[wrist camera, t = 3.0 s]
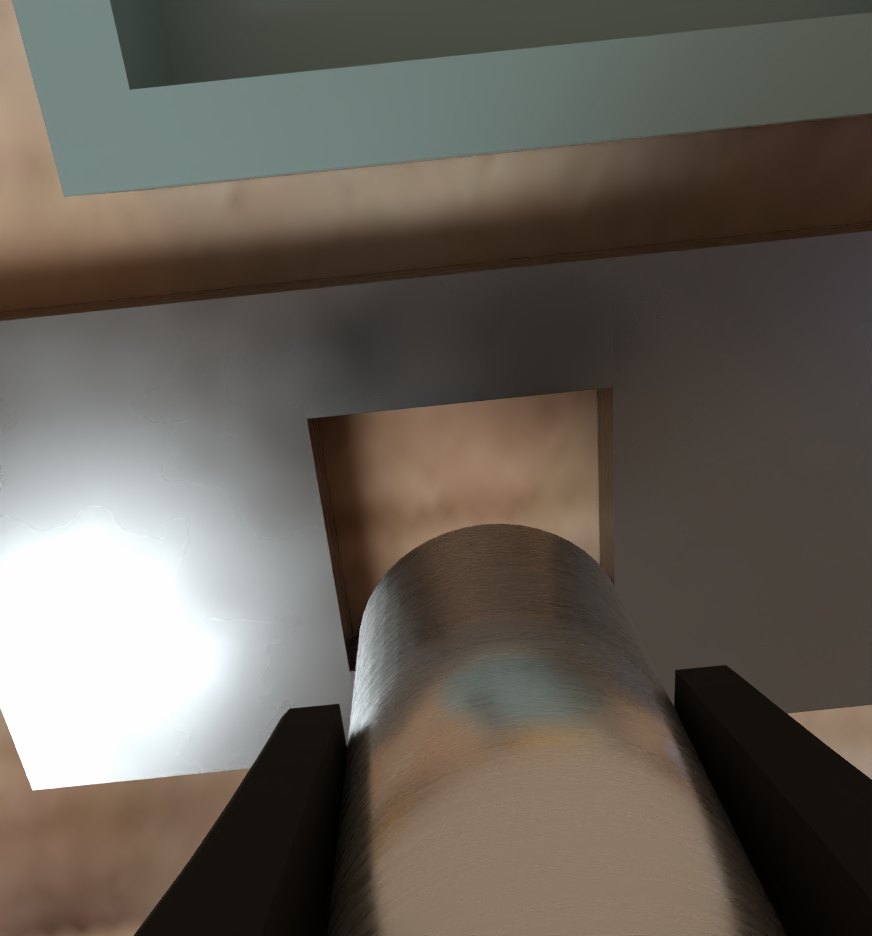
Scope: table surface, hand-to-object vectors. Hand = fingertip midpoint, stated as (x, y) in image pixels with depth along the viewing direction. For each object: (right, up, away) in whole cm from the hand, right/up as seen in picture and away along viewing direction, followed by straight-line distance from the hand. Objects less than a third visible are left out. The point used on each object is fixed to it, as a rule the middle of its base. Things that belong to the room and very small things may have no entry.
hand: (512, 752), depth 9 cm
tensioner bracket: (0, +3, +6) cm, 7 cm away
